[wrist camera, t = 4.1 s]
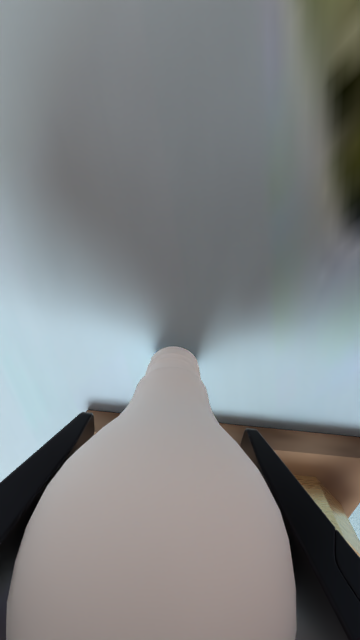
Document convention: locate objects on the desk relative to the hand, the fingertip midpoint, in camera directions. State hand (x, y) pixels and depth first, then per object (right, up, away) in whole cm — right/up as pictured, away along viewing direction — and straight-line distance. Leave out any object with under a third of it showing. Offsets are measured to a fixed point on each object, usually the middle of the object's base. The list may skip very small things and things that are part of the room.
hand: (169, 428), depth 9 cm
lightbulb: (0, +2, +4) cm, 5 cm away
